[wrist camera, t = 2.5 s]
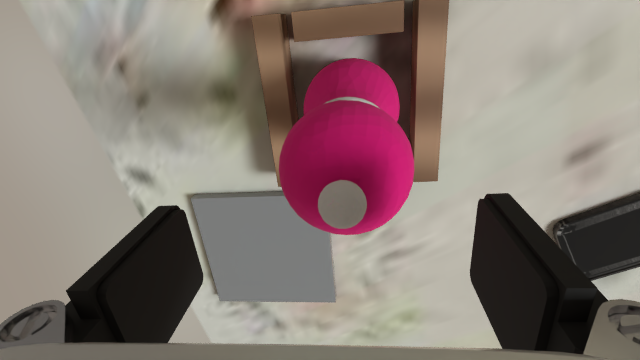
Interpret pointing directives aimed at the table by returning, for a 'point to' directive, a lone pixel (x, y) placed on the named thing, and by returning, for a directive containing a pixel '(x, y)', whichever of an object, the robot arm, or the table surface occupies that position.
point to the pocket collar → (359, 22)
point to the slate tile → (264, 249)
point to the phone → (603, 238)
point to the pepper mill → (348, 151)
